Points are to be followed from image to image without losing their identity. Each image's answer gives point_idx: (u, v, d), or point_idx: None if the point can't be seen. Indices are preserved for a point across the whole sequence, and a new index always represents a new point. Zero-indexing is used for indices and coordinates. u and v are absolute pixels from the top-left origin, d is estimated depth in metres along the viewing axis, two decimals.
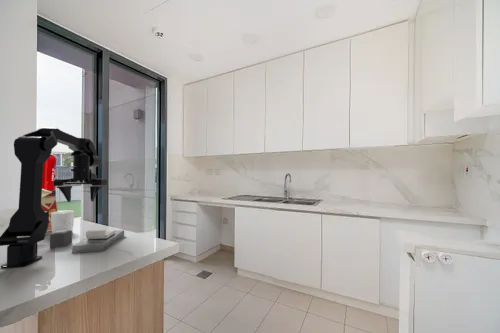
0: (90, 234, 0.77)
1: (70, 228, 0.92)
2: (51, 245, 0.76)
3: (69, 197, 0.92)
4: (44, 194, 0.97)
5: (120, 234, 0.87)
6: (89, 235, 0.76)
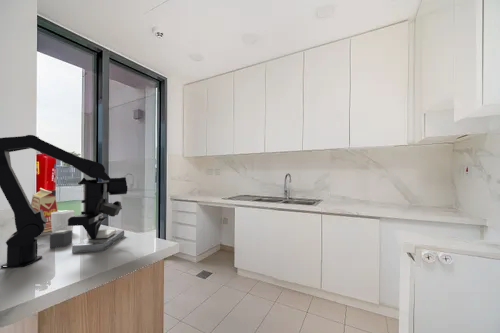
0: None
1: (70, 228, 0.92)
2: (51, 245, 0.76)
3: None
4: (44, 194, 0.97)
5: (120, 234, 0.87)
6: None
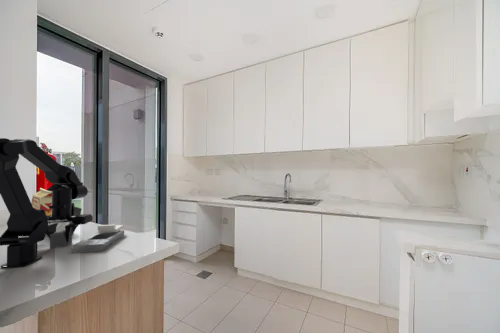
0: (101, 228, 0.84)
1: None
2: (51, 245, 0.76)
3: None
4: (44, 194, 0.97)
5: (120, 234, 0.87)
6: (100, 229, 0.84)
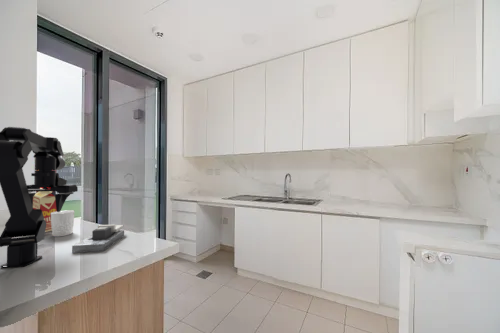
0: None
1: (70, 228, 0.92)
2: None
3: None
4: (44, 194, 0.97)
5: (120, 234, 0.87)
6: None
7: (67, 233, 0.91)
